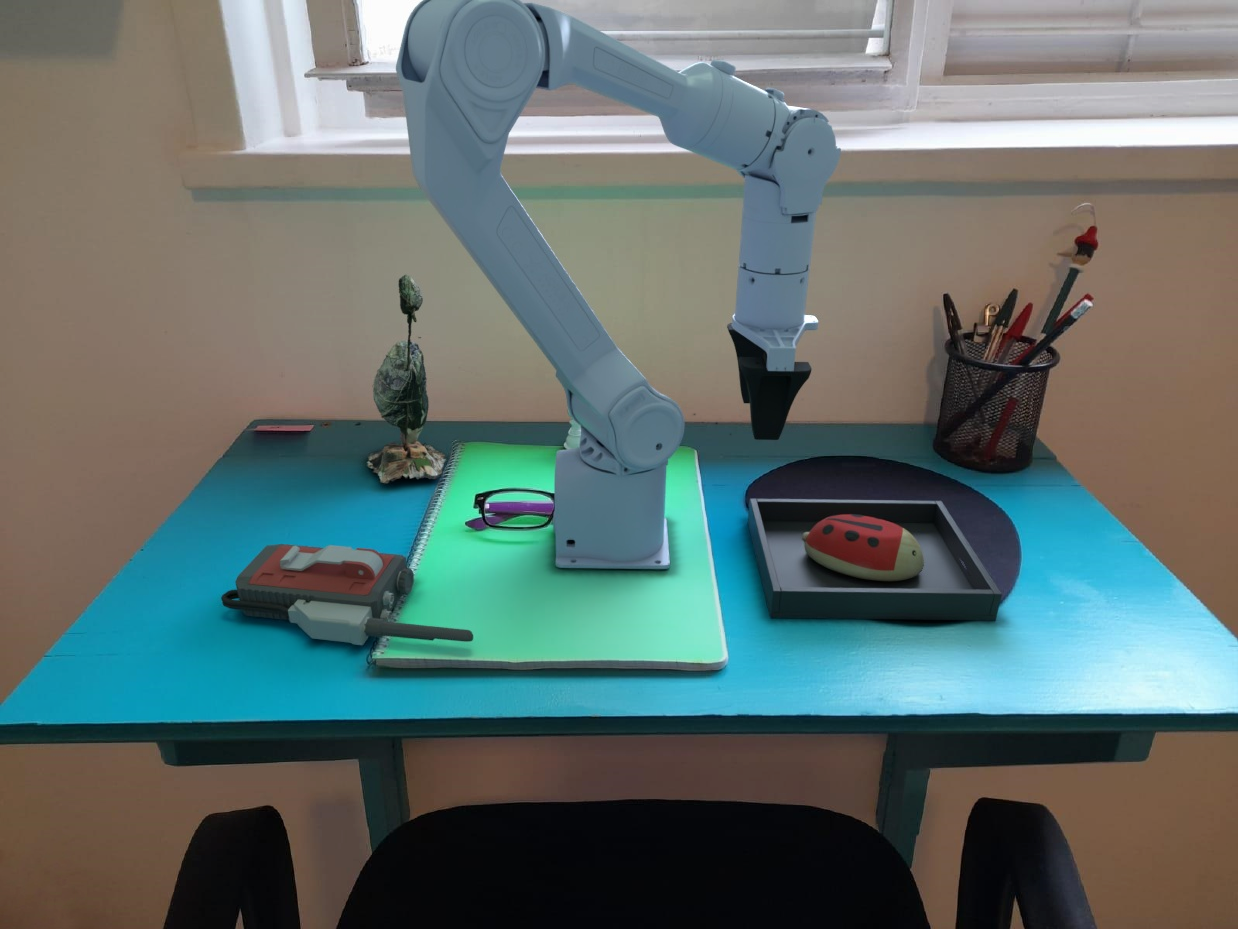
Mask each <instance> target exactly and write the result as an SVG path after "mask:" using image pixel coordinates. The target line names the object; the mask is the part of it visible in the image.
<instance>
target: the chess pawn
mask: <svg viewBox="0 0 1238 929" xmlns="http://www.w3.org/2000/svg"><path fill="white" fill-rule="evenodd" d="M566 411H567V414H568V417H569V418H571V419H569V422H568V423H569V424H570V425H571V427H570V428H569V430H568V432H567V433H568V434H567V436H566V438H565V442H564V443H563V447H564V448H565V450H566V449H572V448H577V447H579V445H580V439H581V425H579V424H578V423H577V422H576V421H575V420H574V419H573V418H572V416H571V414H570V412H569V410H568V408H567V410H566Z"/></svg>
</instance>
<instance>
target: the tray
mask: <svg viewBox="0 0 1238 929" xmlns="http://www.w3.org/2000/svg"><path fill="white" fill-rule="evenodd" d="M747 514H748V515H747V525H748V529H749V533H750V538H751V543H752V547H753V551H754V554H755V559H756V564H757V568H758V571H759V575H760V580H761V584H762V587H763V592H764V597H765V600H766V604H767V605H766V606H767V609H768V613H769V614H768V615H769V617H770V619H828V620H830V619H831V620H839V619H840V620H847V619H848V620H902V621H903V620H904V621H905V620H906V621H907V620H910V621H913V620H914V621H916V620H917V621H922V620H923V621H982V622H983V621H985V622H987V621H989V622H991V621H993V622H995V621H996V619H997V615H998V612H999V608H1000V604H1001V600H1002V597H1003V593H1002V591H1001V590H1000V589H999V587H998V585H997V584H996V582H995V581H994V580H993V578H992V576H991V575H990V573H989V572H988V570H987V568H986V567H985V566H984V564H983V563H982V561H981V559H980V558H979V556H978V555H977V553H976V551H975V550H974V549H973V547H972V546H971V544H970V543H969V541H968V540H967V538H966V537H965V535H964V533H963V531H962V530H961V529H960V527H959V525H958V524H957V522H956V521H955V519H954V518H953V516H952V514H951V513H950V512H949V510H948V509H947V507H946V506H945V504H944V503H943V501H942V500H904V499H903V500H902V499H901V500H898V499H825V498H824V499H823V498H822V499H821V498H819V499H815V498H814V499H813V498H809V499H808V498H804V499H803V498H749V502H748V512H747ZM850 514H855V515H863V516H868V517H874V518H878V519H882V520H885V521H888V522H891V523H894V524H896V525H899V526H900V527H902V528H904V529H905V530H907V531H908V532H909V533H911V534H912V535H913V537H914V538H915V539H916V540H917V542H918V543H919V545H920V548H921V550H922V553H923V558H924V566H923V569H922V571H921V572H920V573H919V574H918V575H916V576H914V577H912V578H909V579H906V580H901V581H874V580H866V579H861V578H856V577H852V576H848V575H845V574H842V573H839V572H836V571H833V570H831V569H828V568H826V567H824V566H822V565H820V564H819V563H817V562H816V561H814V560H813V559H812V558H811V557H810V556H809V555H808V554H807V552H806V551H805V542H804V541H803V540H802V537H803V534H804V533H805V532H810V531H811V530H812V528H813V527H814V526H815V525H816V524H817V523H819V522H820V521H822V520H823V519H825V518H827V517H830V516H834V515H850ZM957 556H958V557H959V558H961V560H962V561H963V562H964V564H965V566H966V568H967V571H968V572H969V574H968V573H967V571H966V570H965V568H964V566H963V565H962V563H961V561H960V560H959V558H958V557H957ZM969 575H970V576H969Z"/></svg>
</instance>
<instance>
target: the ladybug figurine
mask: <svg viewBox="0 0 1238 929" xmlns="http://www.w3.org/2000/svg"><path fill="white" fill-rule="evenodd" d="M802 540H803V541H804V542H805V551H806V552H807V554H808V555H809V556H810V557H811V558H812V559H813V560H814V561H816V562H817V563H819V564H820V565H822V566H824V567H826V568H828V569H831V570H833V571H836V572H839V573H842V574H845V575H848V576H852V577H856V578H861V579H866V580H874V581H901V580H906V579H909V578H911V577H913V576H915V575H917V574H918V573H919V572H920V571H921V570H922V568H923V565H924V558H923V553H922V550H921V548H920V545H919V543H918V542H917V540H916V539H915V538H914V537H913V535H912V534H911V533H909V532H908V531H907V530H905V529H904V528H902V527H900V526H899V525H896V524H894V523H891V522H888V521H885V520H882V519H878V518H874V517H868V516H863V515H855V514H850V515H834V516H830V517H827V518H825V519H823V520H822V521H820V522H819V523H817V524H816V525H815V526H814V527H813V528H812V530H811V531H810V532H805V533H804V534H803V537H802Z"/></svg>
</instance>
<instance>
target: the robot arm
mask: <svg viewBox="0 0 1238 929" xmlns="http://www.w3.org/2000/svg"><path fill="white" fill-rule="evenodd" d="M736 68H737V67H736V66H735V65H734V64H731V63H730V62H728V61H726V60H722V59H721V60H719V59H712V60H711V61H710V64H709V63H708V62H703V61H700V62H695V63H693V64H690V65H689V66H687V67H686V68H684V69H681V70H680V71H678V70H675V69H673V68H671V67H670V66H668V65H666V64H664V63H662V62H660V61H658V60H656V59H654V58H652V57H650V56H649V55H647V54H645V53H643V52H641V51H639V50H637V49H635V48H633V47H631V46H630V45H628V44H626V43H623V42H622V41H620V40H618V39H616V38H615V37H612V36H610V35H609V34H606V33H605V32H603V31H601V30H599V29H598V28H596V27H594V26H591V25H589V24H588V23H586V22H583V21H582V20H580V19H577V18H576V17H574V16H572V15H569V14H567V13H565V12H562V11H559V10H557V9H555V8H553V7H549V6H546V5H542V4H539V3H533V2H523V1H521V0H421V1H419V3H418V4H417V5H416V6H415V7H414V8H413V9H412V11H411V12H410V13H409V16H408V18H407V20H406V23H405V26H404V30H403V34H402V38H401V43H400V46H399V51H398V55H397V59H396V64H395V72H396V75H397V79H398V81H399V86H400V89H401V92H402V95H403V105H404V112H405V120H406V129H407V138H408V146H409V153H410V162H411V170H412V174H413V177H414V179H415V181H416V183H417V186H418V187H419V189H420V190H421V191H422V193H423V194H424V196H425V197H426V198H427V200H428V201H429V202H430V204H431V205H432V206H433V208H434V209H435V210H436V212H437V213H438V214H439V216H440V217H441V219H443V221H444V222H445V224H446V225H447V227H448V228H449V229H450V231H451V232H452V233H453V235H454V236H455V237H456V239H457V240H458V241H459V242H460V244H461V245H462V247H463V248H464V249H465V250H466V252H467V253H468V255H469V256H470V257H471V259H472V260H473V262H474V263H475V264H476V266H477V267H479V269H480V271H481V272H482V273H483V274H484V276H485V277H486V279H487V280H488V281H489V282H490V284H491V285H492V287H493V288H494V289H495V291H496V292H497V294H498V295H499V296H500V298H501V299H502V300H503V301H504V303H505V304H506V305H507V307H508V308H509V310H510V311H511V313H512V314H513V315H514V316H515V317H516V319H517V320H518V321H519V323H520V324H521V325H522V327H523V328H524V330H525V331H526V332H527V334H528V335H529V336H530V338H531V339H532V340H533V342H534V343H535V345H536V346H537V347H538V348H539V350H540V351H541V353H542V354H543V355H544V356H545V358H546V359H547V360H548V361H549V364H551V366H552V367H553V368H554V370H555V377H556V379H557V381H558V382H559V383H560V384H561V386H562V388H563V391H564V393H565V399H566V406H567V409H568V410H569V412H570V414H571V416H572V418H571V419H574V420H575V421H576V422H577V423H578V424H579V425H581V439H580V445H579V447H577V448H572V449H566V448H565V449H559V450H557V451H556V454H555V464H554V492H553V493H554V494H553V495H554V497H553V498H554V511H553V516H552V517H553V518H552V523H553V524H552V528H553V529H552V530H553V532H554V534H555V535H554V536H555V566H556V567H557V568H559V569H610V570H611V569H613V570H614V569H618V570H621V569H622V570H624V569H625V570H668V569H670V566H671V558H670V545H669V532H668V518H666V517H665V516H666V493H667V492H666V490H667V485H666V484H667V467H668V465H669V459H671V457H673V456H674V455H675V453H676V452H677V450H678V448H679V447H680V445H681V443H682V441H683V438H684V435H685V428H686V426H685V425H686V424H685V417H684V413H683V411H682V408H681V407H680V405H679V404H678V403H677V402H676V401H675V400H674V399H673V398H671V397H669V396H668V395H665V394H663V393H660V392H659V391H658V390H657V389H656V388H654V387H653V386H652V385H651V383H649V381H648V379H647V378H646V377H645V376H644V374H643V373H642V372H641V371H640V370H639V369H638V368H637V367H636V366H635V365H634V364H633V363H632V361H630V359H629V358H628V357H627V356H626V355H625V354H624V353H623V352H622V351H621V349H620V348H619V347H618V346H617V344H616V343H615V342H614V340H613V339H612V337H611V336H610V334H609V333H608V331H607V329H606V328H605V327H604V325H603V324H602V322H601V321H600V320H599V318H598V317H597V315H596V313H595V312H594V310H593V309H592V308H591V306H590V304H589V303H588V302H587V300H586V298H585V297H584V295H583V294H582V292H581V290H579V288H578V286H577V285H576V283H575V282H574V281H573V279H572V278H571V276H570V274H569V272H568V271H567V270H566V269H565V268H564V265H563V264H562V263H561V261H560V260H559V259H558V257H557V256H556V254H555V252H554V251H553V250H552V247H551V246H550V245H549V243H548V242H547V240H546V239H545V238H544V236H543V234H542V233H541V231H540V230H539V228H538V227H537V225H536V224H535V223H534V221H533V219H532V218H531V216H530V215H529V214H528V212H527V211H526V209H525V207H524V206H523V205H522V203H521V202H520V200H519V199H518V196H516V194H515V192H514V191H513V189H512V188H511V187H510V186H509V184H508V182H507V181H506V179H505V178H504V176H503V175H502V172H501V168H502V163H503V160H504V155H505V151H506V148H507V147H506V146H507V144H508V140H509V136H510V133H511V131H512V129H513V127H514V126H515V124H516V123H517V121H518V119H519V118H520V116H521V114H522V112H523V111H524V109H525V107H526V106H527V104H528V103H529V101H530V99H531V97H532V96H533V94H534V92H535V90H536V89H541V90H546V91H553V90H554V91H555V90H557V89H559V88H562V87H564V86H567V85H569V84H571V85H573V86H577V87H579V88H581V89H583V90H586V91H589V92H592V93H595V94H596V95H597V94H598V95H600V96H602V97H605V98H608V99H610V100H613V101H615V102H618V103H620V104H623V105H625V106H628V107H631V108H634V109H637V110H640V111H641V112H645V113H647V114H649V115H652V116H655V117H658V119H659V121H660V125H661V127H662V130H663V132H664V135H665V137H666V139H667V141H668V142H669V143H671V144H672V145H674V146H676V147H679V148H681V149H683V150H686V151H689V152H691V153H693V154H696V155H698V156H701V157H703V158H706V159H708V160H710V161H713V162H716V163H718V164H720V165H722V166H725V167H728V168H730V169H733V170H734V171H736V172H737V173H738V175H740V176H741V177H742V178H743V179H744V183H743V184H744V185H743V197H742V198H743V199H742V210H741V211H742V212H741V226H740V239H739V253H738V266H737V280H736V293H735V306H734V313H733V314H732V316H731V322H730V323H727V325H726V328H727V331H728V333H729V336H730V338H731V340H732V342H733V346H734V350H735V355H736V360H737V368H738V379H739V388H740V394H741V398H742V402H743V404H749V410H750V411H749V413H750V425H751V430H752V436H753V438H754V440H757V441H778V440H779V439H780V437H781V435H782V434H783V431H784V428H785V426H786V422H787V419H788V416H789V413H790V410H791V408H792V405H793V403H794V401H795V398H796V397H797V395H798V394H799V392H800V390H801V389H802V388H803V386H804V385H805V384H806V382H807V381H808V379H809V378H810V376H811V374H812V365H811V364H810V362H809V361H796V354H797V353H796V352H797V345H798V344H799V342H800V341H801V338H802V337H803V335H804V334H805V332H807V331H816V330H818V329H819V320H818V319H817V317H816V316H815V315H810V314H806V306H807V296H808V290H809V289H808V288H809V279H810V272H811V270H810V269H811V262H812V254H813V245H814V243H813V242H814V235H815V226H816V225H815V224H816V217H817V212H818V210H819V206H820V205H822V203H823V194H824V190H825V187H826V184H827V182H828V181H829V179H830V178H831V177H832V175H833V174H834V172H835V170H836V168H837V166H838V163H839V161H840V158H841V152H842V149H841V147H838V146H837V141H836V135H835V132H834V129H833V127H832V125H831V124H829V121H830V120H829V119H828V118H827V116H825V115H824V114H823V113H822V112H820V111H818V110H816V109H812V108H804V107H798V106H791V105H788V104H787V103H786V102H785V101H784V98H785V93H784V92H783V91H781V90H779V89H777V88H776V87H775V88H774V87H766V88H765V89H761V88H759V87H758V86H755V85H753V84H750V83H748V82H746V81H744V80H742V79H740V78H739V77H736V76H734V75H735V72H736Z"/></svg>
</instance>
